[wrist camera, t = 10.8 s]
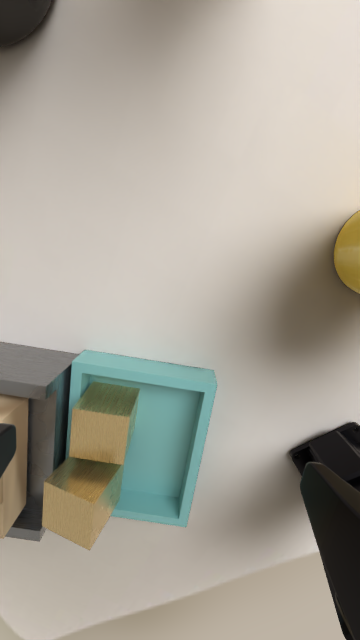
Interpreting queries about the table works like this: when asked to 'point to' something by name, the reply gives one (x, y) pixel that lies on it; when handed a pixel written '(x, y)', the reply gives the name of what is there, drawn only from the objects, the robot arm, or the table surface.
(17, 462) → the light brown t-shaped block
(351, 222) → the plant pot
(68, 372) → the grey tray
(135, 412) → the brass block
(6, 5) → the ink bottle
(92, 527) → the brass block
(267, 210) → the table surface
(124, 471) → the teal tray
